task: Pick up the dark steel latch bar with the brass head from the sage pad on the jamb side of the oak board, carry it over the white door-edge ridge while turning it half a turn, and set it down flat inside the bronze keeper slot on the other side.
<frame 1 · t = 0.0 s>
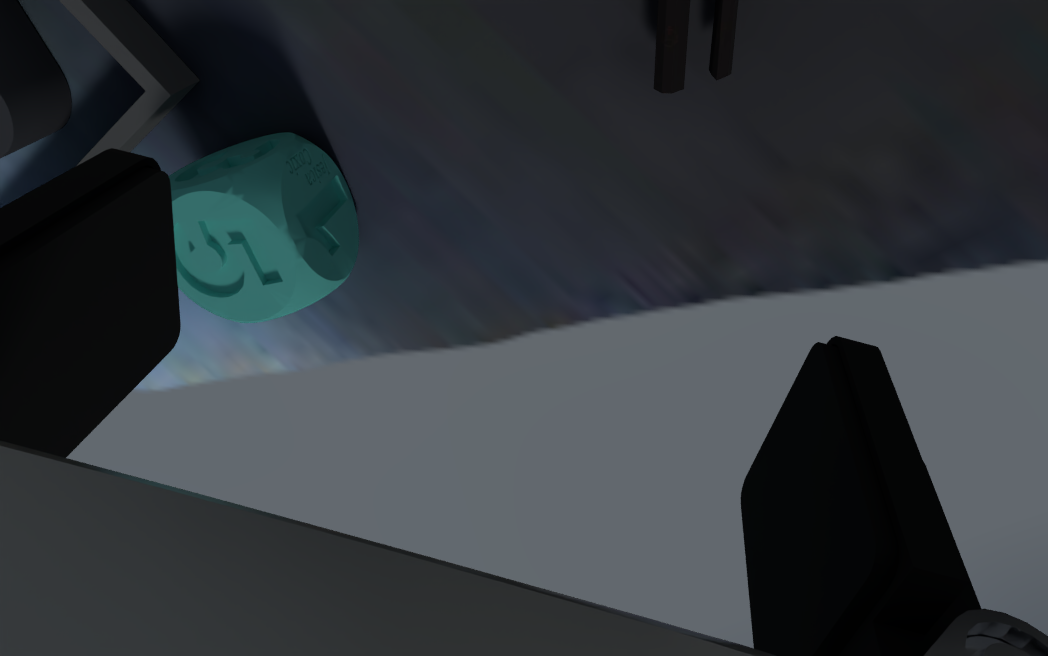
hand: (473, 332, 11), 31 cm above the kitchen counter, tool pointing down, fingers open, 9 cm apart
decorative dice: (292, 197, 47), on the kitchen counter
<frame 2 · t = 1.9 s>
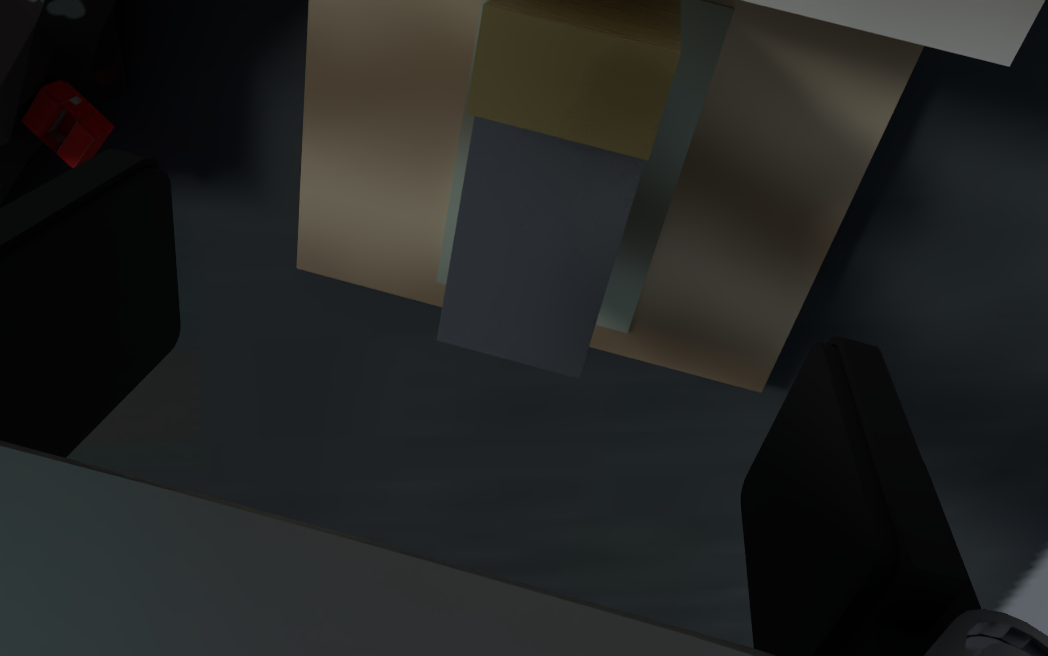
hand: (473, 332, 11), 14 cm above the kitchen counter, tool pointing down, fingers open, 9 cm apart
latch bar: (566, 162, 22), point 1 cm above the kitchen counter, touching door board
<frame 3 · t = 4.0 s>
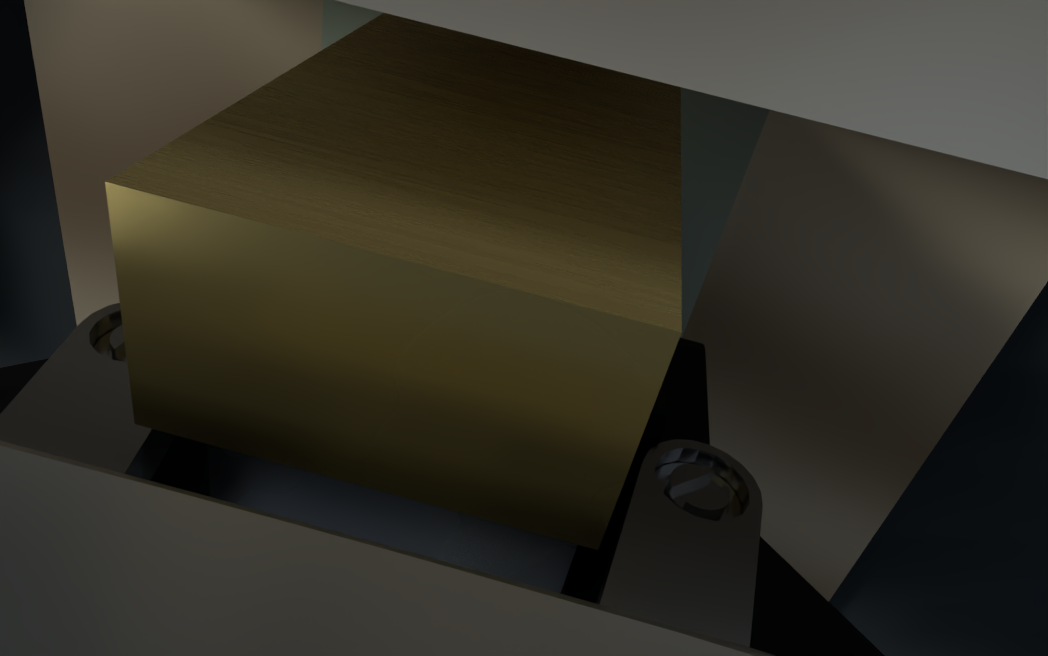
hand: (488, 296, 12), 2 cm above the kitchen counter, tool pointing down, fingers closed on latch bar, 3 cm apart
latch bar: (489, 320, 13), point 1 cm above the kitchen counter, touching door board, gripper
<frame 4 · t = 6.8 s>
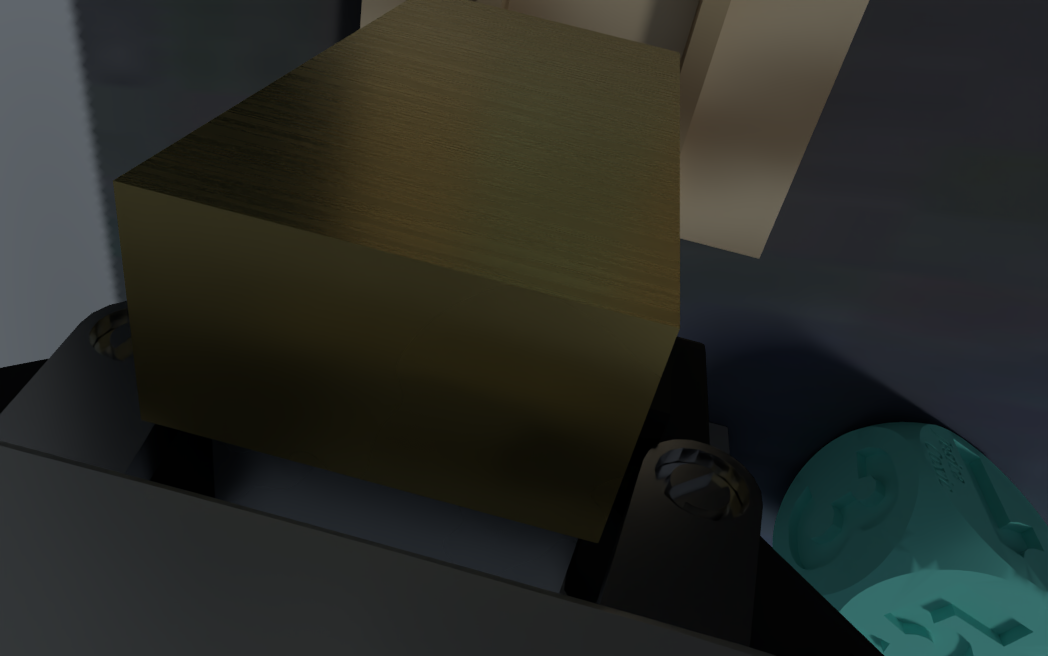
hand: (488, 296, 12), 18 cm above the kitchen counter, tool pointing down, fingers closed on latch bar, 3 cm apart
decorative dice: (888, 484, 35), on the kitchen counter
latch bar: (490, 318, 13), point 17 cm above the kitchen counter, touching gripper
speaker coaster: (438, 531, 42), on the kitchen counter
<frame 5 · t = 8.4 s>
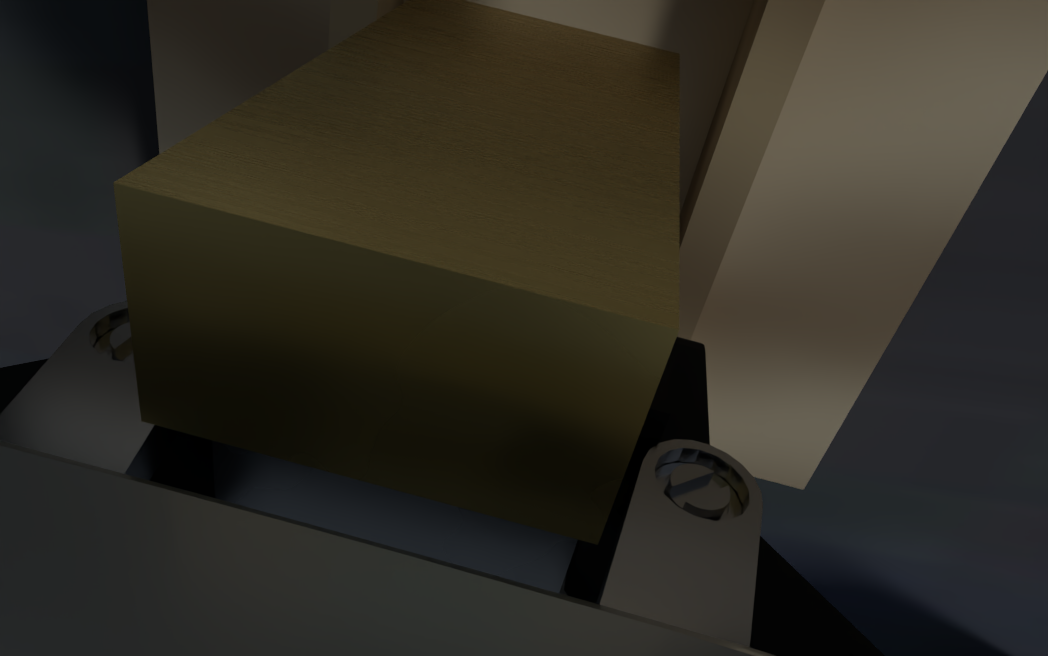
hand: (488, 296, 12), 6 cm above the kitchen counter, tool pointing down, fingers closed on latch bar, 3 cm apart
latch bar: (490, 319, 13), point 5 cm above the kitchen counter, touching gripper
when the fingers open (3 cm above the kitchen counter, at t = 9.6 s): latch bar stays where it is, resting on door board.
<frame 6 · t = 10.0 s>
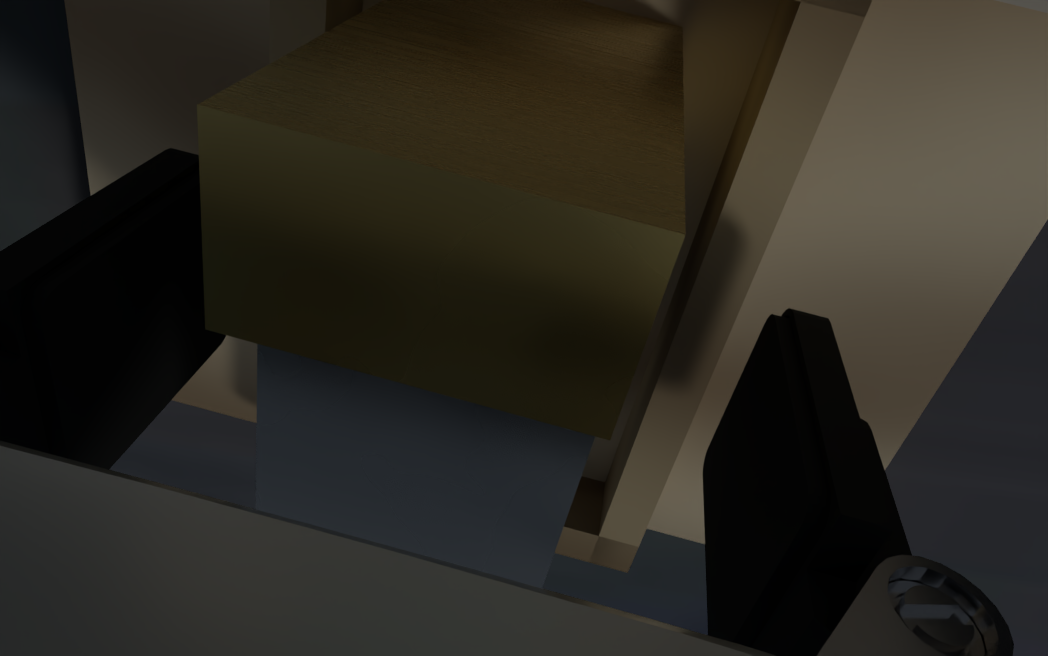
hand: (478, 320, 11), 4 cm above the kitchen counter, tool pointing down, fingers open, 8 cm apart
latch bar: (500, 281, 14), point 1 cm above the kitchen counter, touching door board
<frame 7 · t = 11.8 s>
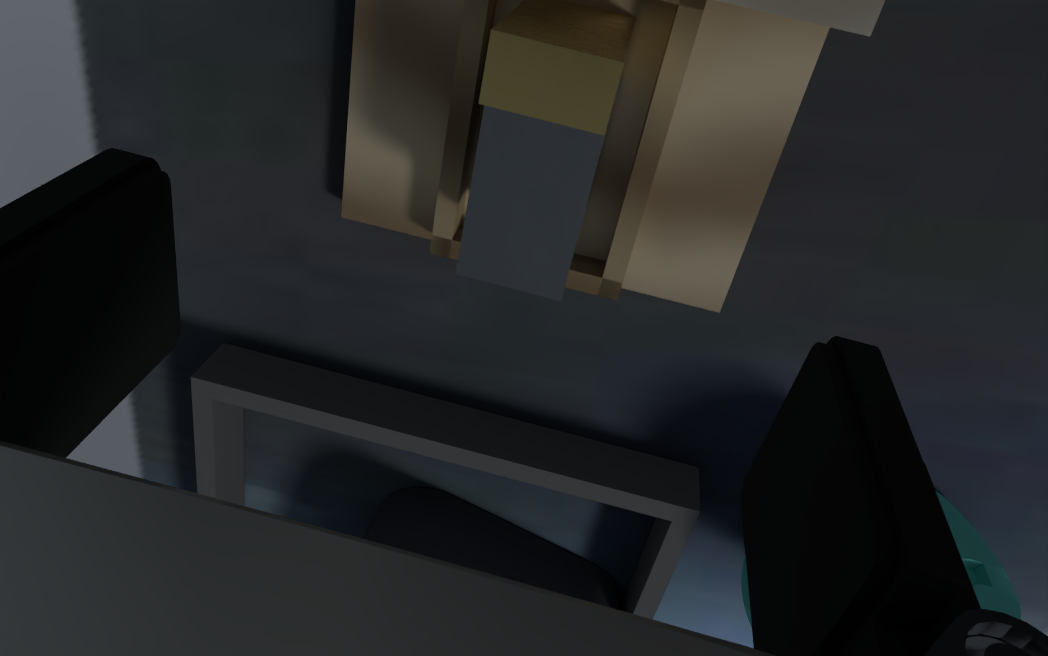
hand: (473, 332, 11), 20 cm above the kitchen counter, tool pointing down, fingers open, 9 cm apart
decorative dice: (853, 520, 37), on the kitchen counter
latch bar: (552, 144, 29), point 1 cm above the kitchen counter, touching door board
speaker coaster: (428, 566, 44), on the kitchen counter
streaming box: (471, 595, 45), resting in speaker coaster
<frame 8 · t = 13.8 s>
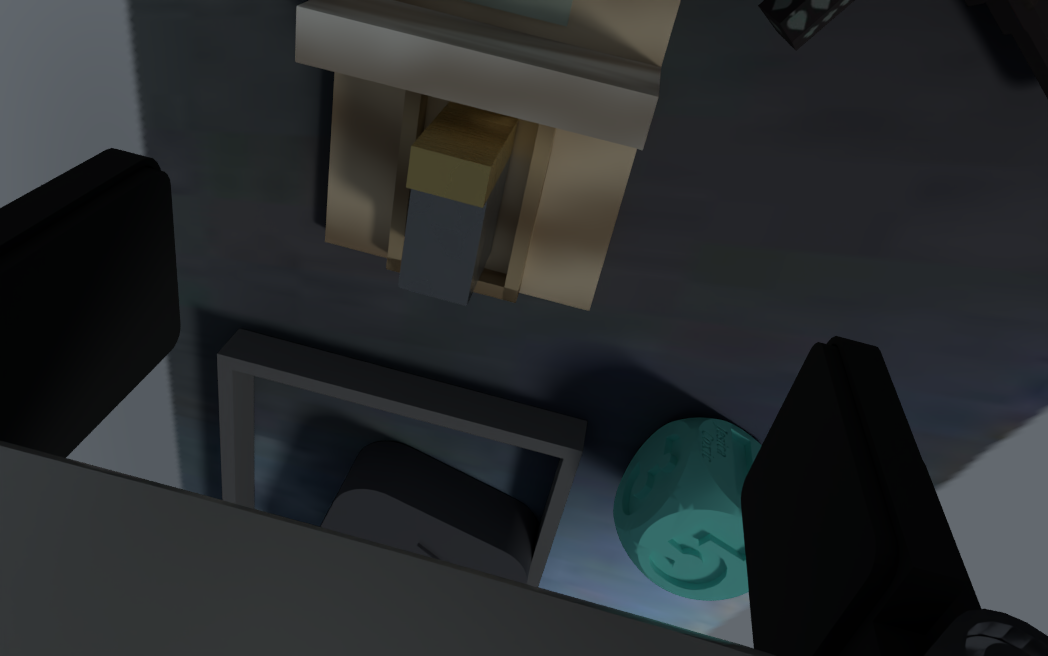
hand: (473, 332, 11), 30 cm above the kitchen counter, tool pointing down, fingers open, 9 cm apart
decorative dice: (700, 460, 51), on the kitchen counter
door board: (499, 46, 39), on the kitchen counter
latch bar: (469, 196, 42), point 1 cm above the kitchen counter, touching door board
speaker coaster: (394, 497, 58), on the kitchen counter
streaming box: (427, 524, 59), resting in speaker coaster
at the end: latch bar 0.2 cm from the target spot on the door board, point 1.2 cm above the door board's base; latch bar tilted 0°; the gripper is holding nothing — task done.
